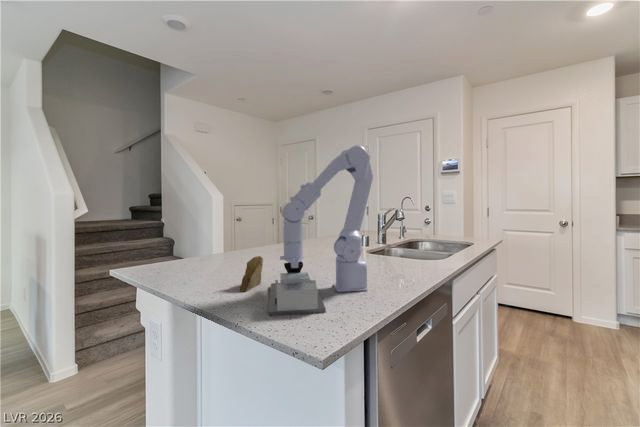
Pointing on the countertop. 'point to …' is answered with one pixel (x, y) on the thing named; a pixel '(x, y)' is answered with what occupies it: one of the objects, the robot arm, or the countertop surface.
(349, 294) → the countertop surface
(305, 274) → the pale blue-grey box
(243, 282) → the rock
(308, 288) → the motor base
